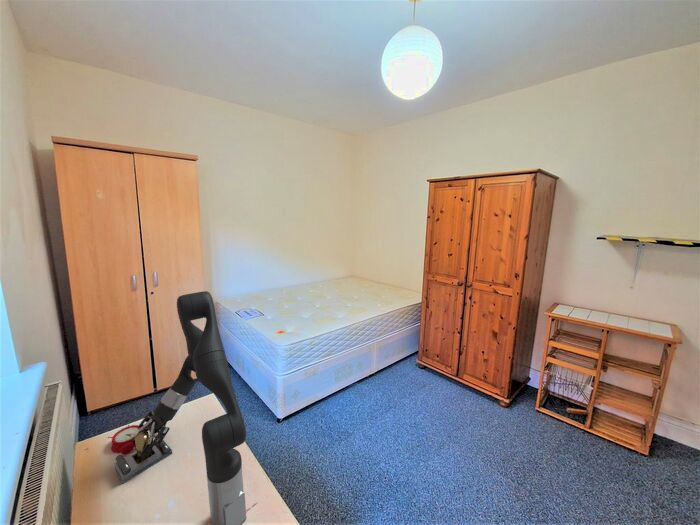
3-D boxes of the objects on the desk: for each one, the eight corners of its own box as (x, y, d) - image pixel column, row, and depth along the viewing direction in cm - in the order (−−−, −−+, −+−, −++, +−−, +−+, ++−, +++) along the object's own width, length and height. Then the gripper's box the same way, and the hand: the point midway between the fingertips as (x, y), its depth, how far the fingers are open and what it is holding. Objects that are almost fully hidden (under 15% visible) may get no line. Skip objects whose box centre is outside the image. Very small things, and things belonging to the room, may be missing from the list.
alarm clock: (131, 420, 118) (152, 424, 111) (135, 434, 118) (156, 439, 112) (102, 438, 109) (123, 444, 102) (106, 453, 109) (127, 460, 103)
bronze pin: (153, 460, 103) (150, 434, 101) (140, 468, 100) (136, 441, 98) (149, 455, 106) (146, 429, 104) (136, 462, 102) (132, 436, 100)
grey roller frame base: (172, 454, 106) (171, 442, 105) (123, 484, 94) (121, 471, 93) (163, 442, 111) (161, 431, 110) (114, 470, 99) (112, 458, 98)
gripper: (154, 393, 109) (121, 438, 102) (170, 409, 101) (135, 458, 94) (170, 398, 114) (140, 441, 107) (187, 414, 106) (155, 461, 99)
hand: (138, 449), depth 101 cm, fingers open, 8 cm apart
